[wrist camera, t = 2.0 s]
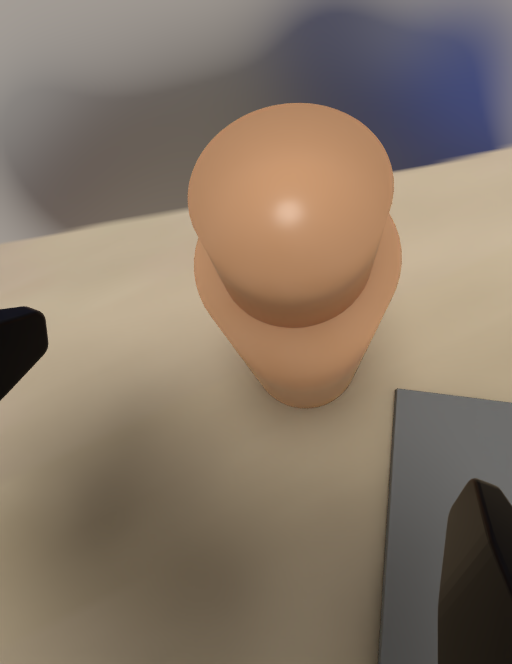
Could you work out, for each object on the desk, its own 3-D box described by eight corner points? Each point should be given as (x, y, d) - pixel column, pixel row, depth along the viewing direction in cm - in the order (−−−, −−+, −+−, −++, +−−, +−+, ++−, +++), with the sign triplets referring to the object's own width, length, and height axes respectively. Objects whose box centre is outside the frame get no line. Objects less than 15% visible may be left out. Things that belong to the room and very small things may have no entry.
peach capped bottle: (351, 415, 18) (427, 333, 6) (247, 400, 19) (126, 302, 7) (360, 314, 19) (438, 76, 7) (262, 304, 20) (182, 75, 8)
